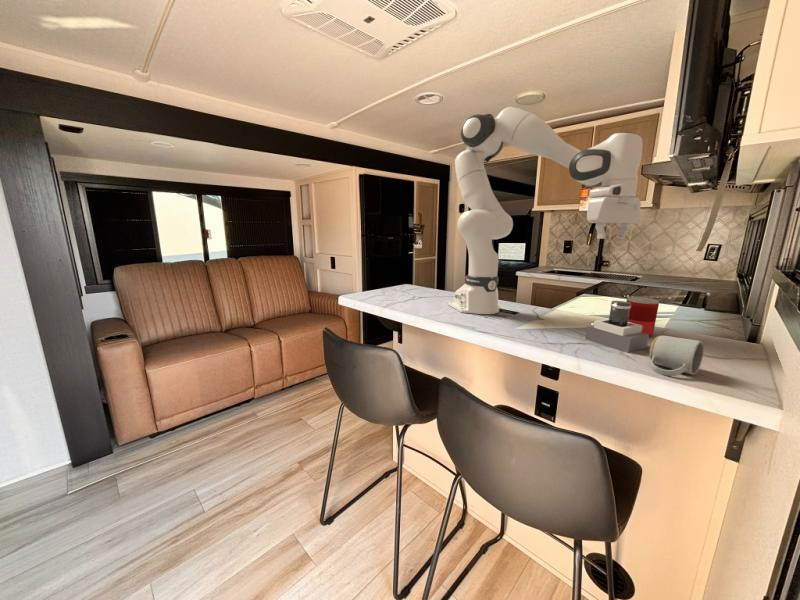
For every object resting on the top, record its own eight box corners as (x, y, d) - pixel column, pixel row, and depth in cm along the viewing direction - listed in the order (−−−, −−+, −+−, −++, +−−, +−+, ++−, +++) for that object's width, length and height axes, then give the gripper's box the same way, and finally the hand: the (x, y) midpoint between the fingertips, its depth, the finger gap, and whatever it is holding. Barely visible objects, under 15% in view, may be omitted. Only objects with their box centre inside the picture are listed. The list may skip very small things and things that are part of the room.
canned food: (659, 337, 94) (666, 302, 92) (633, 337, 94) (639, 301, 92) (640, 329, 102) (645, 296, 99) (615, 329, 102) (621, 296, 99)
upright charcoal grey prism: (603, 328, 89) (607, 301, 87) (613, 326, 91) (618, 300, 89) (619, 333, 85) (624, 304, 83) (630, 331, 87) (635, 303, 85)
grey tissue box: (585, 338, 93) (588, 319, 91) (602, 335, 96) (605, 316, 94) (628, 352, 82) (632, 330, 81) (646, 348, 85) (650, 327, 84)
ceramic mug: (656, 358, 78) (662, 329, 76) (700, 370, 72) (707, 338, 70) (640, 369, 72) (645, 338, 71) (685, 383, 66) (693, 349, 64)
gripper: (628, 194, 100) (621, 238, 103) (585, 190, 92) (579, 238, 95) (650, 192, 94) (642, 238, 97) (607, 188, 86) (599, 239, 89)
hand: (611, 238), depth 96 cm, fingers open, 8 cm apart
